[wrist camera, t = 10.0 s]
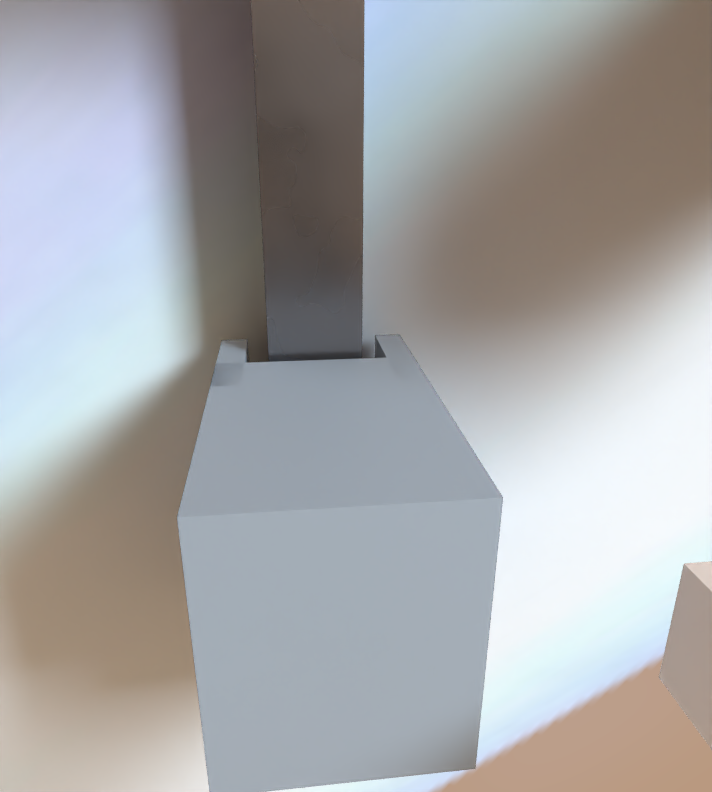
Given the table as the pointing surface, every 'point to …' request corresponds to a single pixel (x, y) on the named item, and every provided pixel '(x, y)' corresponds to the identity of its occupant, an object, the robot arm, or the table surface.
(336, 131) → the rail
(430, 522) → the block
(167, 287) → the table surface
